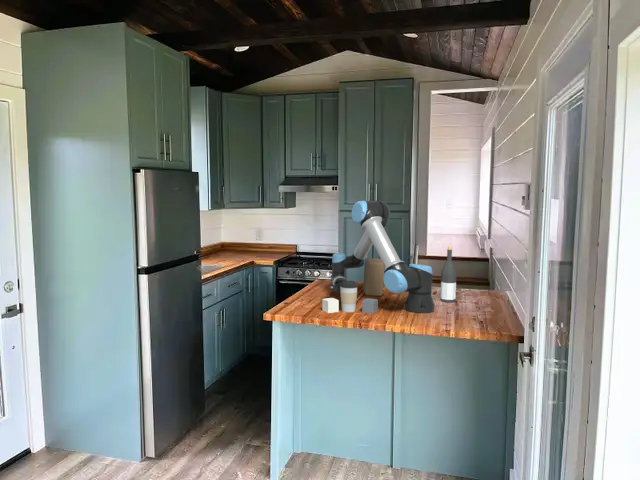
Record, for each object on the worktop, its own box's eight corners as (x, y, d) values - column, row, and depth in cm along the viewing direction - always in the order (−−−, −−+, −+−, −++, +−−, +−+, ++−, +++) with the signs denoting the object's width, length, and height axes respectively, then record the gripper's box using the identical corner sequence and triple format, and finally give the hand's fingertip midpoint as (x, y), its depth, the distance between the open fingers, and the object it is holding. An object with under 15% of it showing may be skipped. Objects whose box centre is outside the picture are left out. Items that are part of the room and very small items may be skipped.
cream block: (338, 311, 240) (338, 300, 239) (328, 313, 237) (328, 301, 236) (332, 309, 245) (332, 297, 244) (322, 310, 242) (322, 298, 241)
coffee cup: (359, 309, 245) (359, 280, 244) (355, 313, 237) (356, 283, 235) (341, 307, 248) (342, 279, 246) (337, 312, 239) (338, 282, 237)
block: (379, 290, 285) (381, 258, 280) (382, 296, 275) (385, 262, 270) (362, 290, 284) (365, 257, 279) (365, 296, 274) (367, 262, 270)
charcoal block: (377, 311, 242) (377, 299, 241) (373, 313, 237) (373, 301, 236) (366, 309, 245) (366, 298, 244) (362, 312, 239) (362, 300, 239)
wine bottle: (446, 303, 259) (448, 248, 256) (437, 299, 266) (439, 246, 263) (458, 302, 262) (460, 247, 259) (449, 298, 269) (451, 245, 266)
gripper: (351, 290, 270) (358, 301, 247) (328, 290, 269) (333, 301, 246) (352, 277, 269) (359, 287, 246) (329, 277, 268) (334, 287, 245)
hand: (346, 294), depth 246 cm, fingers closed
